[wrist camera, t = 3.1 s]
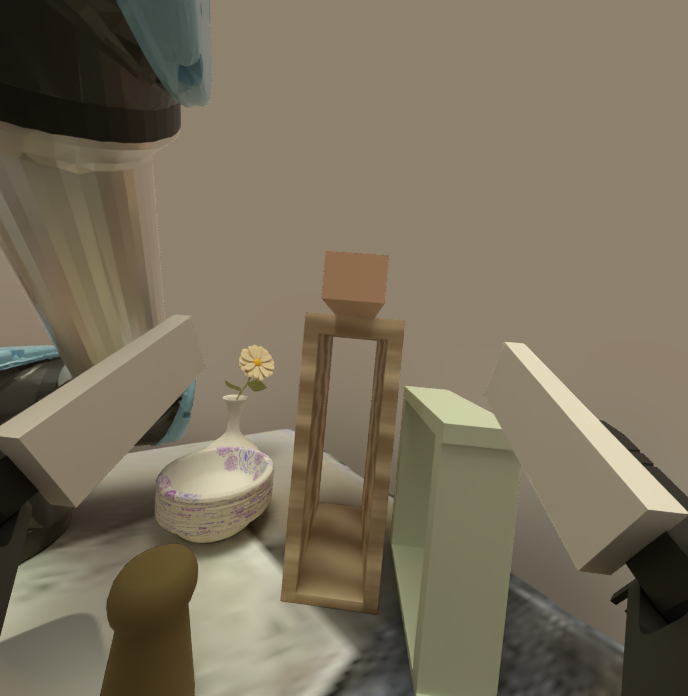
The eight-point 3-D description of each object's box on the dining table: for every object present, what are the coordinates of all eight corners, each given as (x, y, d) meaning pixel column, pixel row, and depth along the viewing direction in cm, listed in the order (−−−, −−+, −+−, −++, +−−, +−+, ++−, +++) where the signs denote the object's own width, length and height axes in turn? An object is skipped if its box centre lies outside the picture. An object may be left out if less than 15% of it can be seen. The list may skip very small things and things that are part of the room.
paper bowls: (120, 550, 32) (124, 485, 32) (201, 484, 48) (204, 440, 47) (239, 574, 31) (245, 505, 31) (284, 498, 46) (288, 452, 46)
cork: (209, 664, 22) (220, 533, 22) (160, 786, 16) (174, 606, 16) (135, 659, 22) (145, 527, 22) (58, 779, 16) (70, 599, 16)
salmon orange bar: (384, 303, 17) (389, 255, 17) (321, 298, 17) (325, 250, 17) (368, 327, 43) (370, 308, 43) (343, 325, 43) (345, 306, 43)
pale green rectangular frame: (496, 720, 20) (527, 431, 20) (415, 707, 21) (444, 423, 20) (432, 545, 38) (448, 390, 37) (389, 540, 38) (404, 385, 38)
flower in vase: (198, 480, 49) (209, 342, 48) (200, 454, 59) (209, 340, 59) (271, 470, 55) (281, 348, 54) (261, 448, 65) (270, 345, 64)
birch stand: (377, 614, 27) (405, 320, 27) (280, 600, 28) (305, 312, 27) (370, 514, 43) (387, 328, 43) (308, 507, 44) (325, 323, 43)
